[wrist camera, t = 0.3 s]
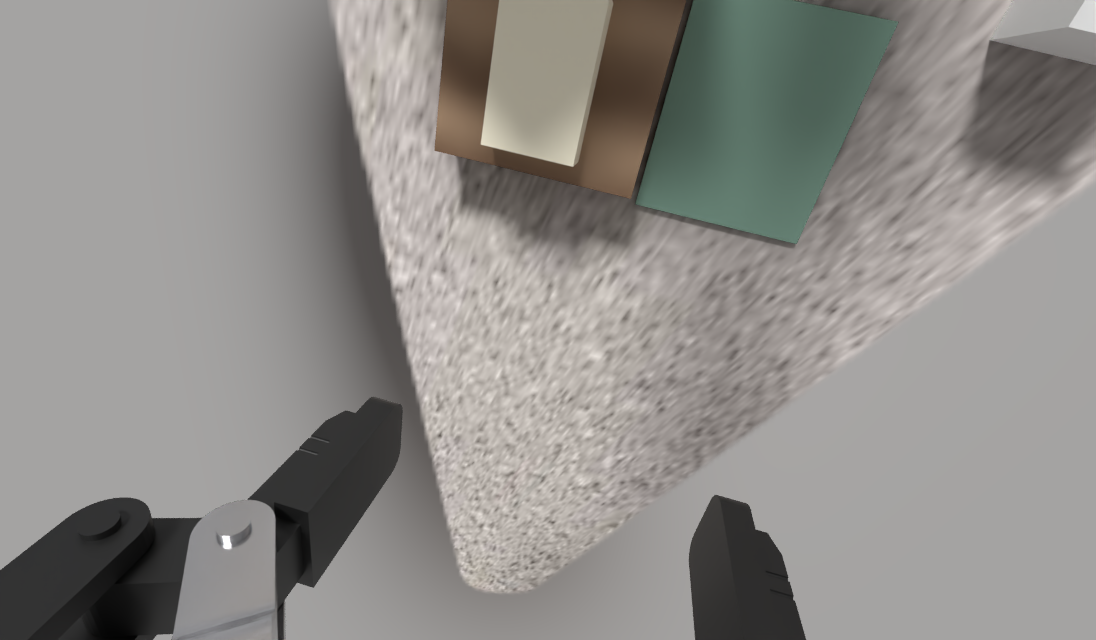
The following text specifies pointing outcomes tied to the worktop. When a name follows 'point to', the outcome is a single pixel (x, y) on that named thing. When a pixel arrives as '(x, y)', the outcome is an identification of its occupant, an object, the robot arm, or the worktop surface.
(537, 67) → the cream tile
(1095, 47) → the white cube
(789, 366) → the worktop surface
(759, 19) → the green mat
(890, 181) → the worktop surface
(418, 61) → the worktop surface
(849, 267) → the worktop surface
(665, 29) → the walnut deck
